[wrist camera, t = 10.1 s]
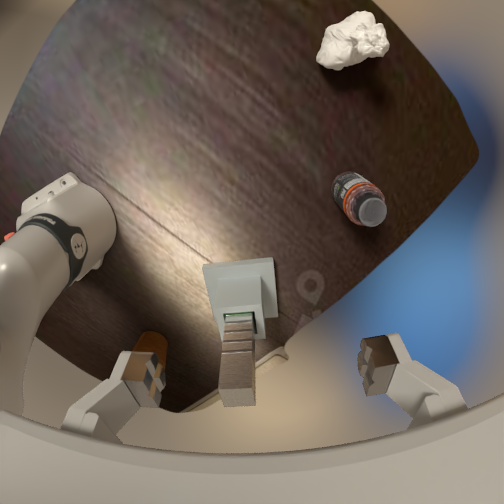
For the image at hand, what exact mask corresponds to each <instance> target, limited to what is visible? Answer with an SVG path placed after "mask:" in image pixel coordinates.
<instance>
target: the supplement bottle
mask: <svg viewBox="0 0 504 504" xmlns="http://www.w3.org/2000/svg"><path fill="white" fill-rule="evenodd" d="M331 194H332V197H333V199H334V201H335V202H336V203H337V204H338V206H339V207H340V208H341V209H342V211H343V212H344V213H345V214H346V216H347V217H348V218H349V219H350V220H351V221H352V222H353V223H355V224H357V225H361V226H368V227H374V226H377V225H379V224H380V223H382V222H383V220H384V219H385V217H386V213H387V208H386V205H385V199H384V195H383V194H382V192H381V191H380V190H379V189H378V188H377V187H376V186H374V185H373V184H372V183H370V182H369V181H368V180H366V179H365V178H363V177H362V176H360V175H359V174H357V173H355V172H344V173H341V174H339V175H338V176H337V177H336V178H335V179H334V181H333V183H332V186H331Z"/></svg>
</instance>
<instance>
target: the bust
mask: <svg viewBox="0 0 504 504" xmlns="http://www.w3.org/2000/svg"><path fill="white" fill-rule="evenodd" d="M388 49H389V42H388V40H387V38H386V32H385V29H384V26H383V24H381V23H379V24H376V22H375V18H374V16H373V14H372V13H371V12H366V11H362V12H358V11H357V12H355V13H354V14H352V15H351V16H349V17H347V18H346V19H345V20H344V21H342V22H340V23H338V24H334V25H331V26H329V27H327V29H326V31H325V35H324V38H323V41H322V44H321V49H320V51H319V52H318V54H317V57H316V61H317V62H318V63H319V64H320V65H323V66H324V67H325V68H328V69H334V70H342V69H343V67H344V66H346V67H347V66H349V65H354V64H357V63H361V62H362V61H363V60H365V59H366V58H368V57H371V58H373V57H383V56H384V54H385V53H386V52H387V51H388Z"/></svg>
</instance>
